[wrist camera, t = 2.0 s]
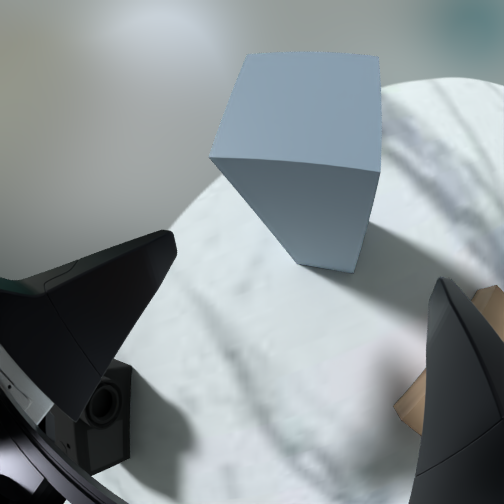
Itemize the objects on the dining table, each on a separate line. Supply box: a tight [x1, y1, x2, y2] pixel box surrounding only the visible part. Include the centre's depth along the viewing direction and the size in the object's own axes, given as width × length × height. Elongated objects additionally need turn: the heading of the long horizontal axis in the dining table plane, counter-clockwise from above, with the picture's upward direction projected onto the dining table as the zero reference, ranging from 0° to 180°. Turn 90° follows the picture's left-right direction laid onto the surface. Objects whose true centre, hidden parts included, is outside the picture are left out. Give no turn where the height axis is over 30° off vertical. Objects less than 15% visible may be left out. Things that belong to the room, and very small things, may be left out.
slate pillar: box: [209, 52, 382, 273], centre depth 13 cm, size 4×4×14 cm
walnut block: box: [393, 285, 504, 436], centre depth 12 cm, size 10×10×3 cm
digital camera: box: [49, 359, 132, 476], centre depth 18 cm, size 10×5×7 cm, turn 172°
